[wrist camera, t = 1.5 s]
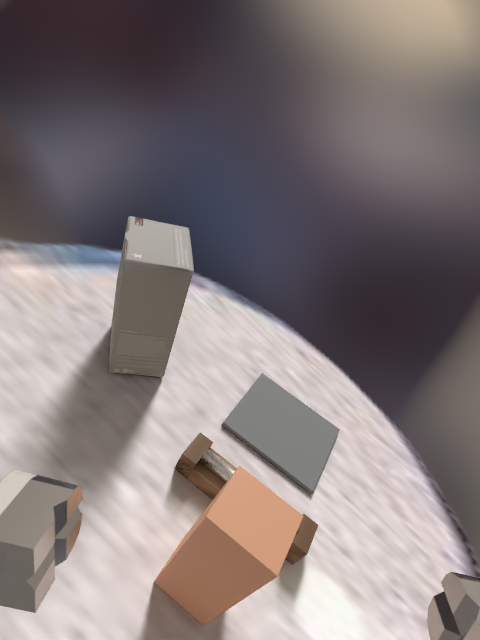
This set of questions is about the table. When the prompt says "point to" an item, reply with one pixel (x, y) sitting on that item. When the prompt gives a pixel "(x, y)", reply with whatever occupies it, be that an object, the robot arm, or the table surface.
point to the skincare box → (149, 296)
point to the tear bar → (213, 475)
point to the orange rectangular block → (230, 548)
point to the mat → (283, 431)
